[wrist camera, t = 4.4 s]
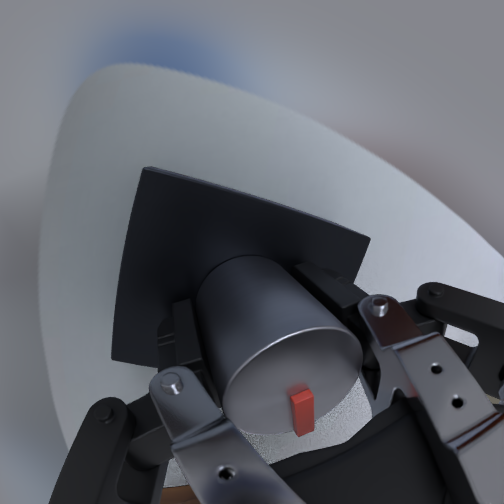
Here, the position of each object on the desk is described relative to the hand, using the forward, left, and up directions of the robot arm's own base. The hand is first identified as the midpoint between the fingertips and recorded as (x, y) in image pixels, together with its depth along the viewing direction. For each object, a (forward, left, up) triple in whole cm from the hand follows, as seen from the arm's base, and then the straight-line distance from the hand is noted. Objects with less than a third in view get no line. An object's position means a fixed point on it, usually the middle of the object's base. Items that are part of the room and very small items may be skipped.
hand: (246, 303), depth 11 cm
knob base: (0, 0, -3) cm, 3 cm away
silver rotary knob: (0, 0, 0) cm, 0 cm away
